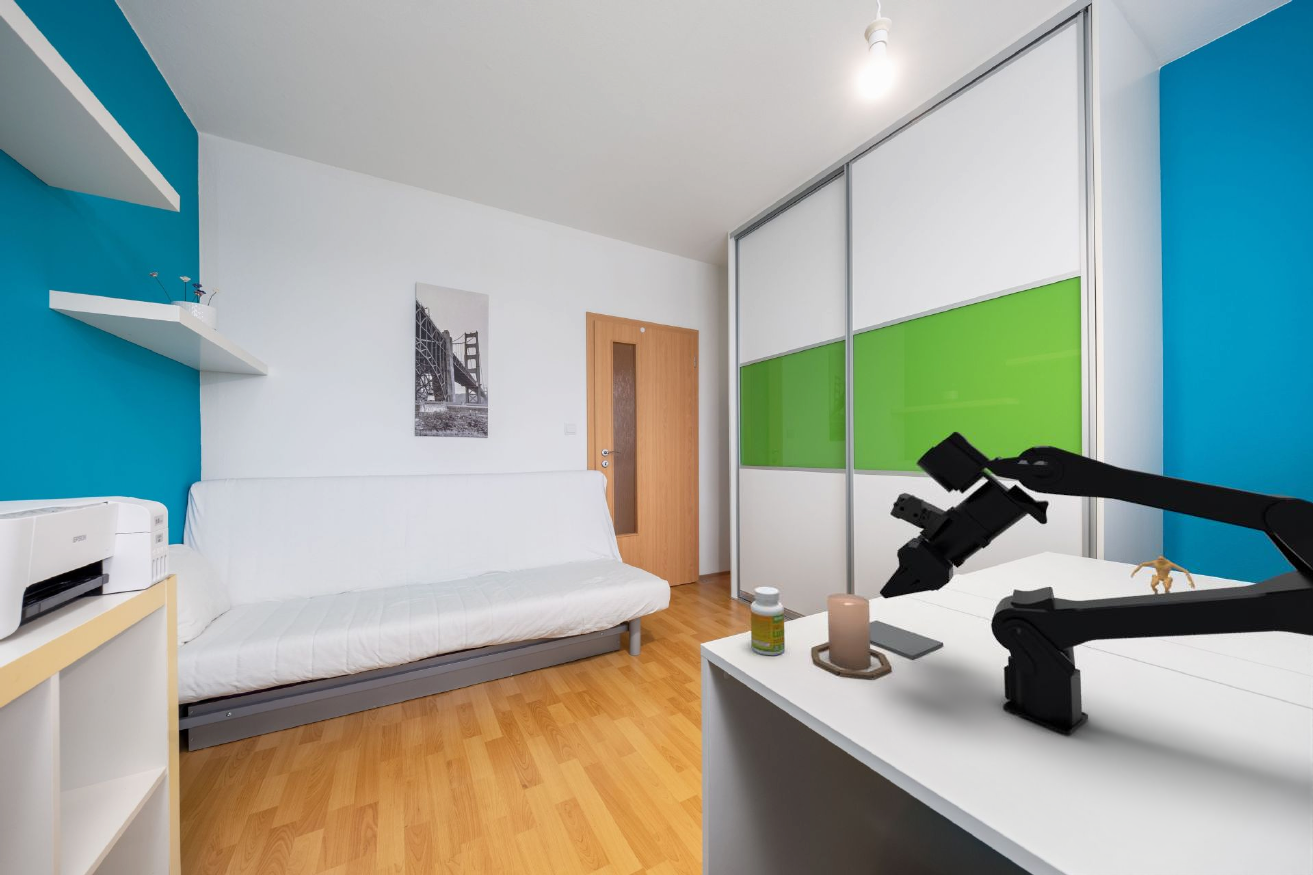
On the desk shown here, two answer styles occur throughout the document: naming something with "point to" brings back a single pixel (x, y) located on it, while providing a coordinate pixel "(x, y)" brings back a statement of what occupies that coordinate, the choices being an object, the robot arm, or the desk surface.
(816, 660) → the coaster ring
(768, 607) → the supplement bottle
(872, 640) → the rubber mat
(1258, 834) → the desk surface
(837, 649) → the peach cylinder
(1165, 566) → the figurine
